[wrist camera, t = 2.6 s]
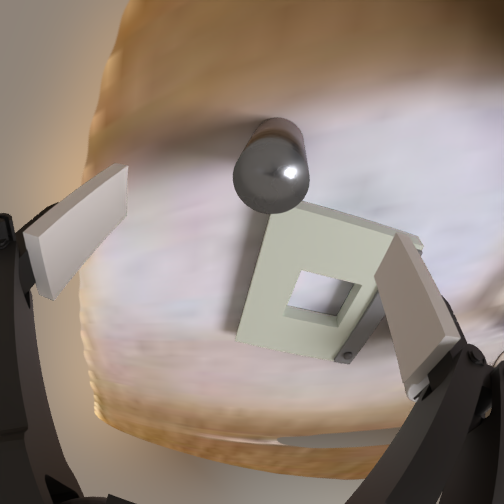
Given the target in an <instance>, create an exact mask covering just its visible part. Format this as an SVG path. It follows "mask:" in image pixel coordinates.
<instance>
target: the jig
mask: <svg viewBox="0 0 504 504" xmlns="http://www.w3.org/2000/svg"><path fill="white" fill-rule="evenodd" d="M396 232H398V233H401V234H404V235H407V236H409V237H410V239H411V240H412V242H413V244H414V246H415V247H416V249H417V251H418V253H419V254H420V256H421V255H422V249H423V247H424V246H423V244H422V242H421V241H420V239H419V237H418V236H415V235H412V234H409V233H406V232H403V231H400V230H397V229H394V228H391V227H388V226H385V225H382V224H379V223H375V222H372V221H369V220H366V219H363V218H359V217H356V216H353V215H349V214H346V213H343V212H339V211H336V210H332V209H329V208H326V207H322V206H318V205H315V204H311V203H308V202H304V201H301V202H300V203H299V204H298V205H297V206H296V207H294V208H293V209H291V210H289V211H287V212H283V213H279V214H270V216H269V219H268V223H267V227H266V230H265V234H264V237H263V241H262V244H261V248H260V252H259V255H258V259H257V262H256V266H255V269H254V273H253V276H252V280H251V284H250V287H249V291H248V294H247V298H246V301H245V305H244V308H243V312H242V315H241V319H240V322H239V326H238V329H237V334H236V338H235V341H236V342H241V343H245V344H249V345H253V346H258V347H262V348H267V349H272V350H276V351H281V352H286V353H291V354H296V355H301V356H307V357H312V358H318V359H323V360H329V361H334V362H338V363H344V364H350V363H351V362H352V360H353V359H354V358H355V356H356V355H357V354H358V352H359V351H360V350H361V348H362V347H363V346H364V344H365V343H366V341H367V340H368V339H369V337H370V336H371V334H372V333H373V332H374V330H375V329H376V327H377V326H378V324H379V323H380V321H381V320H382V318H383V317H384V315H385V311H384V308H383V304H382V301H381V298H380V294H379V291H378V288H377V285H376V282H375V279H374V275H375V273H376V271H377V269H378V267H379V265H380V263H381V261H382V259H383V258H384V256H385V254H386V252H387V250H388V248H389V246H390V244H391V242H392V240H393V238H394V236H395V233H396ZM301 270H303V271H307V272H311V273H315V274H319V275H323V276H327V277H331V278H335V279H340V280H344V281H348V282H352V283H354V285H353V287H352V289H351V291H350V293H349V295H348V297H347V298H346V300H345V302H344V304H343V306H342V307H341V309H340V311H339V313H338V315H337V316H333V315H328V314H324V313H319V312H314V311H310V310H305V309H301V308H297V307H292V306H288V305H287V304H288V301H289V299H290V297H291V294H292V292H293V289H294V287H295V284H296V282H297V279H298V277H299V274H300V272H301Z"/></svg>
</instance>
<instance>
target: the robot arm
mask: <svg viewBox="0 0 504 504" xmlns="http://www.w3.org/2000/svg"><path fill="white" fill-rule="evenodd" d="M127 180H128V165H123V164H118V163H114V164H112V165H111V166H109V167H108V168H106V169H105V170H103V171H102V172H100V173H99V174H97V175H96V176H95V177H93V178H92V179H90V180H89V181H87V182H86V183H85V184H83V185H82V186H80V187H79V188H78V189H76V190H75V191H74V192H72V193H71V194H70V195H68V196H67V197H66V198H64V199H63V200H62V201H60V202H57V203H55V204H53V205H51V206H49V207H46V208H45V209H44V210H43V211H41V212H40V213H39V214H38V215H36V216H35V217H34V218H33V220H30V221H29V222H28V223H27V224H25V225H24V226H23V227H22V228H21V229H20V230H18V231H17V232H16V233H15V232H14V226H13V221H12V216H10V215H9V214H6V213H0V504H135V503H132V502H129V501H127V500H124V499H121V498H118V497H115V496H113V495H110V494H108V497H107V498H105V497H84V495H83V493H82V491H81V488H80V486H79V484H78V482H77V480H76V478H75V476H74V474H73V473H72V471H71V469H70V468H69V466H68V464H67V462H66V460H65V458H64V455H63V452H62V449H61V446H60V443H59V440H58V437H57V434H56V430H55V426H54V423H53V419H52V416H51V412H50V408H49V404H48V400H47V396H46V392H45V387H44V382H43V377H42V372H41V366H40V360H39V354H38V347H37V340H36V332H35V323H34V313H33V300H32V294H31V291H30V289H31V287H32V286H33V285H34V284H35V283H36V286H37V290H38V293H39V295H41V296H43V297H46V298H48V299H50V300H53V301H54V300H55V299H56V298H57V296H58V295H59V294H60V292H61V291H62V290H63V288H64V287H65V286H66V284H67V283H68V282H69V281H70V280H71V279H72V277H73V276H74V275H75V274H76V272H77V271H78V270H79V269H80V268H81V266H82V265H83V264H84V263H85V262H86V260H87V259H88V258H89V257H90V256H91V255H92V253H93V252H94V251H95V250H96V249H97V248H98V247H99V245H100V244H101V243H102V242H103V241H104V240H105V239H106V238H107V236H108V235H109V234H110V233H111V232H112V231H113V230H114V229H115V228H116V227H117V225H118V224H119V223H120V222H121V221H122V220H123V219H124V218H125V217H126V216H127ZM374 279H375V282H376V285H377V288H378V291H379V294H380V298H381V301H382V304H383V308H384V311H385V315H386V318H387V322H388V325H389V329H390V333H391V336H392V340H393V344H394V348H395V352H396V356H397V360H398V364H399V369H400V373H401V377H402V382H403V383H404V384H419V383H420V382H421V381H422V380H423V379H424V378H425V377H426V376H427V375H428V379H429V384H428V385H426V386H425V387H424V388H423V389H422V390H421V391H420V392H419V393H418V394H417V395H416V396H415V397H414V398H413V399H414V400H416V399H417V398H418V397H419V398H418V400H417V402H416V403H415V405H414V407H413V409H412V410H411V412H410V414H409V416H408V417H407V419H406V421H405V422H404V424H403V425H402V427H401V429H400V430H399V432H398V433H397V435H396V436H395V438H394V439H393V441H392V442H391V444H390V445H389V447H388V448H387V450H386V451H385V453H384V454H383V456H382V457H381V458H380V460H379V461H378V463H377V464H376V465H375V467H374V468H373V469H372V471H371V472H370V473H369V475H368V476H367V477H366V478H365V480H364V481H363V482H362V484H361V485H360V486H359V487H358V489H357V490H356V491H355V492H354V493H353V495H352V496H351V497H350V498H349V499H348V500H347V502H346V503H345V504H436V502H437V500H438V498H439V497H440V495H441V493H442V495H441V498H440V502H439V504H504V360H503V361H501V362H500V363H499V364H498V365H497V366H496V367H495V368H494V367H492V366H490V365H487V364H486V359H485V357H484V355H483V353H482V352H481V351H480V350H479V349H478V348H477V347H476V346H474V345H471V344H467V342H466V339H465V337H464V335H463V332H462V330H461V328H460V326H459V324H458V322H457V319H456V317H455V315H453V311H452V309H451V307H450V305H449V303H448V302H447V301H446V300H445V298H444V297H443V296H442V295H441V294H440V292H439V290H438V288H437V286H436V284H435V282H434V280H433V278H432V276H431V274H430V273H429V271H428V269H427V267H426V265H425V263H424V262H423V260H422V258H421V256H420V254H419V253H418V251H417V249H416V247H415V246H414V244H413V242H412V240H411V239H410V237H409V236H407V235H404V234H401V233H398V232H396V233H395V236H394V238H393V240H392V242H391V244H390V246H389V248H388V250H387V252H386V254H385V256H384V258H383V259H382V261H381V263H380V265H379V267H378V269H377V271H376V273H375V275H374ZM491 408H492V409H491ZM489 409H491V413H490V415H489V416H488V417H487V418H485V413H486V412H487V411H488V410H489Z"/></svg>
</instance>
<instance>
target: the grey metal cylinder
mask: <svg viewBox="0 0 504 504" xmlns="http://www.w3.org/2000/svg"><path fill="white" fill-rule="evenodd" d="M309 181H310V179H309V170H308V163H307V157H306V151H305V145H304V139H303V135H302V133H301V131H300V129H299V128H298V127H297V126H296V125H295V124H294V123H293V122H291V121H289V120H287V119H283V118H272V119H269V120H266V121H264V122H263V123H261V124H260V125H259V126H258V127H257V129H256V130H255V132H254V134H253V135H252V137H251V139H250V140H249V142H248V144H247V145H246V147H245V149H244V150H243V152H242V154H241V155H240V157H239V159H238V161H237V162H236V165H235V167H234V171H233V183H234V187H235V190H236V192H237V194H238V196H239V197H240V199H241V200H242V201H243V202H244V203H245V204H246V205H247V206H249V207H250V208H252V209H253V210H256V211H258V212H261V213H266V214H279V213H283V212H287V211H289V210H291V209H293V208H294V207H296V206H297V205H298V204H299V203H300V202H301V201H302V200H303V199H304V197H305V195H306V193H307V191H308V188H309Z"/></svg>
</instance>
